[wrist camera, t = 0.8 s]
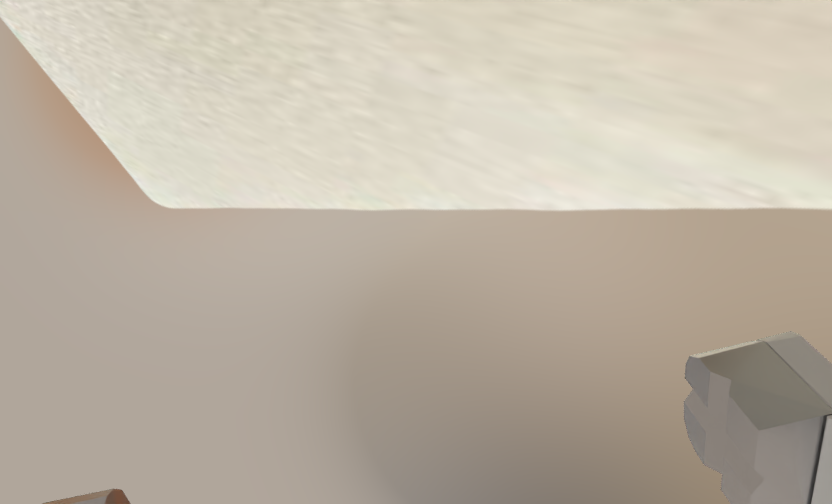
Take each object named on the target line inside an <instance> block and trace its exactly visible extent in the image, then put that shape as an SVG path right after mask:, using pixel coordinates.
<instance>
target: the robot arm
mask: <svg viewBox="0 0 832 504" xmlns="http://www.w3.org/2000/svg"><path fill="white" fill-rule="evenodd" d="M685 379H686V380H687V381H688V383H689V384H690V385H691V387H692V388H693V390H692V391H691V393H690V394H689V395H688V397H687V398H686V399H685V401H684V420H685V424H686V429H687V433H688V437H689V439H690V441H691V443H692V445H693V447H694V449H695V452H696V453H697V455H698V456H699V458H700V459H701V461H702V462H703V464H704V465H705V466H707V467H709V468H711V469H713V470H715V471H717V472H719V473H721V474H722V481H721V490H722V492H723V493H724V495H725V496H726V498H727V499H728V501H729V502H730V503H731V504H832V364H831V363H830V362H829V361H828V360H827V359H826V358H824V356H823V355H821V354H820V353H819V352H818V351H817V350H816V349H815V348H814V347H813V346H812V345H811V344H809V342H807V341H806V340H805V339H804V338H803V337H802V336H801V335H799V334H797V333H794V332H791V331H790V332H786V333H783V334H778V335H775V336H770V337H766V338H762V339H758V340H756V341H751V342H747V343H743V344H738V345H734V346H730V347H726V348H721V349H717V350H713V351H709V352H705V353H701V354H696V355H692V356H689V359H688V360H687V363H686V369H685ZM43 504H130V502H129V501H128V499H127V497H126V496H125V494H124V492H123V491H122V490H120V489H110V490H105V491H100V492H95V493H91V494H85V495H81V496H75V497H71V498H66V499H61V500H56V501H51V502H46V503H43Z"/></svg>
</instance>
